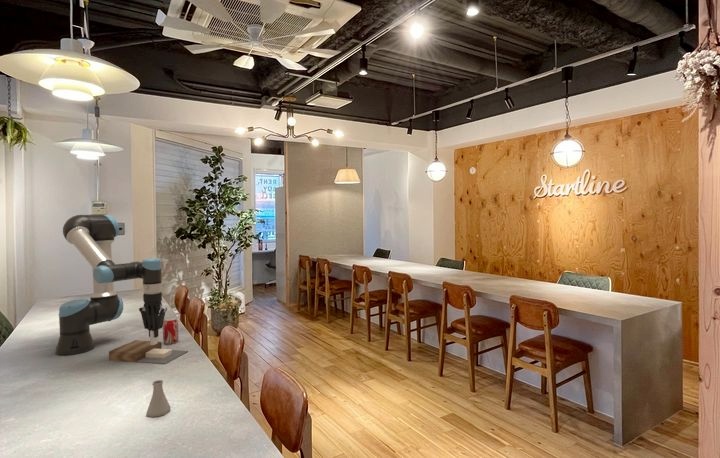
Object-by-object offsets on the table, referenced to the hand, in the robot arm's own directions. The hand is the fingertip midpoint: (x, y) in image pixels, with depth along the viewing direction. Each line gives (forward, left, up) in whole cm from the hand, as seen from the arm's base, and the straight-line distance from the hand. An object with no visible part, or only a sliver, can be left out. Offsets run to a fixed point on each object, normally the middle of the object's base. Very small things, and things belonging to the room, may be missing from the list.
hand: (153, 344), depth 182 cm
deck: (-9, 0, -6) cm, 11 cm away
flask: (+38, -46, -6) cm, 60 cm away
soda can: (-5, +19, -6) cm, 21 cm away
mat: (+5, 0, -6) cm, 7 cm away
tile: (+2, 0, -5) cm, 6 cm away
